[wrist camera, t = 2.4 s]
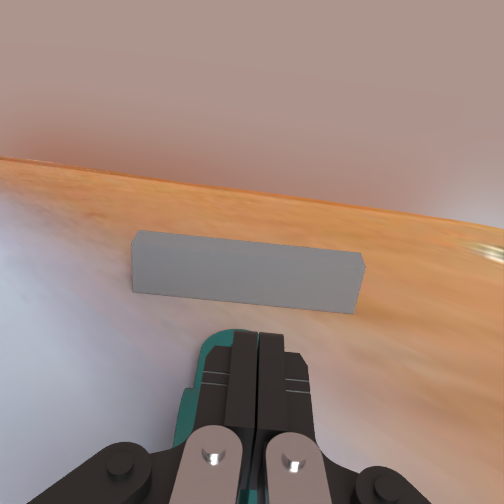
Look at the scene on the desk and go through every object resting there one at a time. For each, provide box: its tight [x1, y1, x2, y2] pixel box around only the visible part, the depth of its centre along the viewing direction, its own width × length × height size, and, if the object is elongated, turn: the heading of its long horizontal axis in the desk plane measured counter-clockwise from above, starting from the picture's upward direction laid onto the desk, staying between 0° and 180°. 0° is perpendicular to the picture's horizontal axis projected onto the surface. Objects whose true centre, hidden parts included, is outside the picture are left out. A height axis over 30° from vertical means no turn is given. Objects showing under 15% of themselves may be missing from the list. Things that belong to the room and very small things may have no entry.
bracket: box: [173, 329, 259, 504], centre depth 34 cm, size 18×7×8 cm, turn 178°
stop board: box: [131, 230, 366, 314], centre depth 50 cm, size 24×3×6 cm, turn 88°
